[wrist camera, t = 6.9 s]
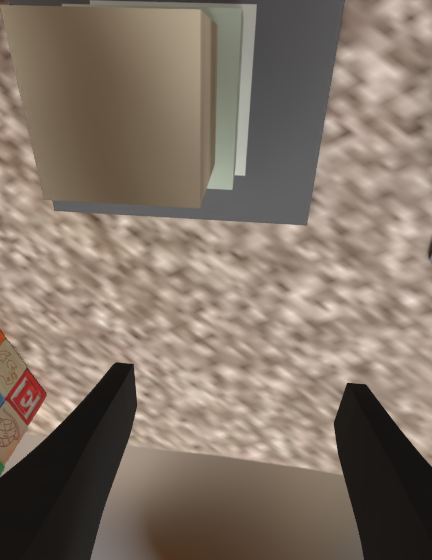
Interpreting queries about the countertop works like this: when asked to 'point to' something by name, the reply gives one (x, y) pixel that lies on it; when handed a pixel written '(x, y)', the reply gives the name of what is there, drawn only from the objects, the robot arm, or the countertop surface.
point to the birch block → (118, 101)
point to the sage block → (220, 87)
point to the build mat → (261, 110)
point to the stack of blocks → (15, 399)
